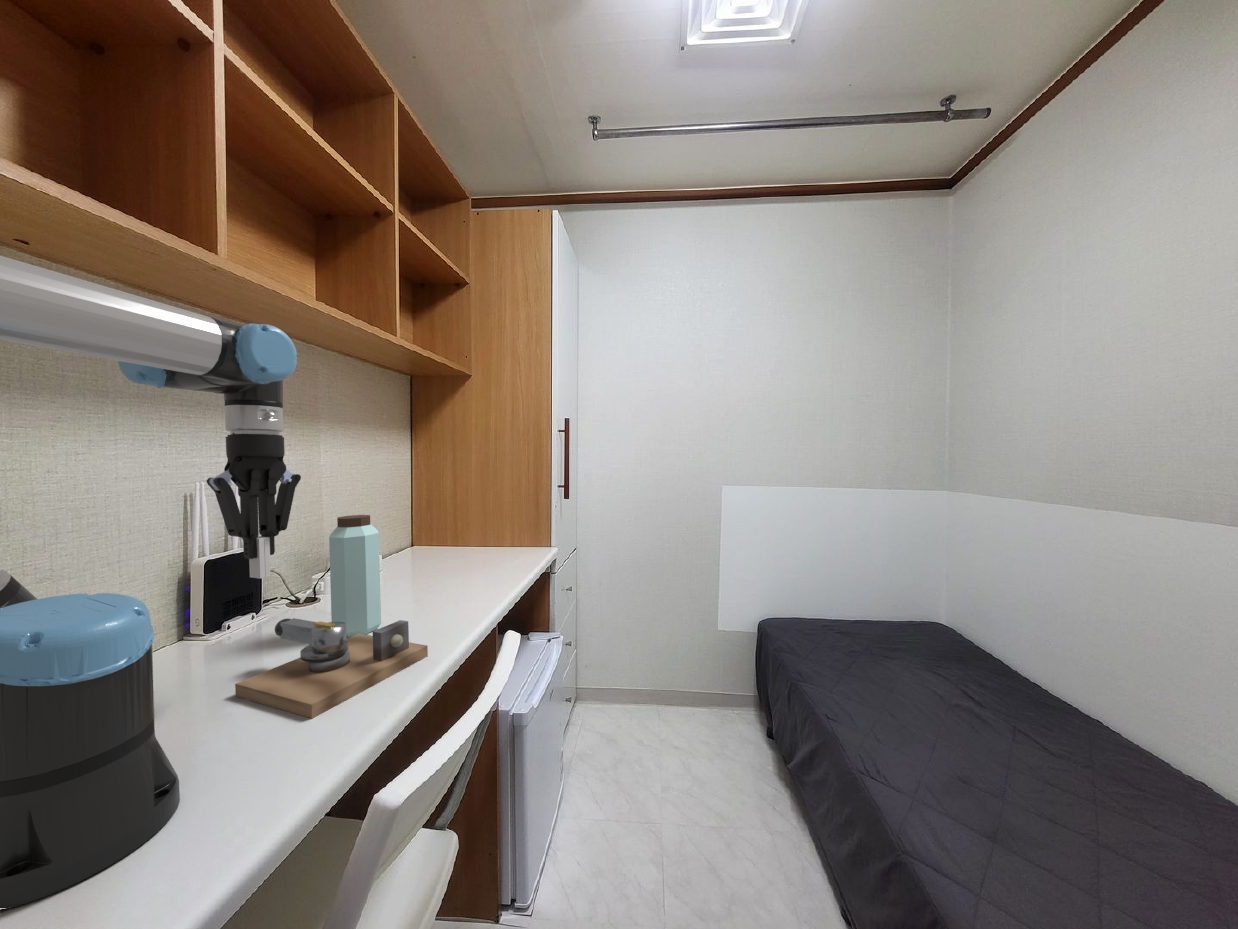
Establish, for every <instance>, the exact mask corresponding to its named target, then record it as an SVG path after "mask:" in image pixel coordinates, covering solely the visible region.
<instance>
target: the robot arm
mask: <svg viewBox="0 0 1238 929" xmlns="http://www.w3.org/2000/svg"><path fill="white" fill-rule="evenodd" d="M0 341H4V342H5V341H6V342H8V343H9V342H10V343H17V344H21V345H27V346H33V347H38V348H44V349H49V350H55V351H60V352H61V351H62V352H67V353H72V354H78V355H83V356H90V357H95V358H100V359H107V360H112V361H117V364H118V367H119V368H118V369H119V370H120V371H121V373H122V375H123V376H124V377H125V378H126V379H127V380H129V381H130V382H132V383H135V384H138V385H144V386H145V385H146V386H150V387H155V388H158V389H162V388H166V389H177V390H186V391H194V392H195V391H197V392H205V393H206V392H207V393H215V394H221V395H223V400H224V401H223V402H224V424H225V425H224V426H225V431H226V432H229V434H228V435H227V436H225V453H226V458H227V462H226V464H225V466H224V469H223V470H224V471H223V472H221V473H220V474H218V475H216V476H215V477H209V478H207V479H206V484H207V485H208V487H210V489H211V490H212V491H213V492H214V495H215V497H216V501H217V502H218V507H219V509H220V512H221V516H222V520H223V523H224V526H225V528H226V531H227V534H228V536H230V537H237V538H240V539H242V541H243V542H242V546H243V548H242V550H243V558H244V559H245V560H246V559H247V560H249V561H248V563H249V578H251V579H252V578H254V579H258V580H259V579H265V578H269V577H272V576H271V574H272V573H271V556H273V555H275V552H276V548H275V546H276V545H275V537H277V536H279V534H280V532H282V531H286V530H287V528H288V526H289V525H288V524H289V519H290V514H291V510H292V506H293V500H294V496H295V492H296V487H297V486H298V484H299V482H300V481H301V479H302V476H301V475H300V474H299V473H296V474H295V473H293V472H291V471H289V470H287V465H286V463H285V462H284V457H285V437H283V435H281V434H280V433H282V432H284V407H283V406H284V403H283V401H284V400H283V399H284V396H283V393H284V390H283V387H284V386H283V385H284V384H283V381H284V380H285V379H287V378H289V377H290V376H292V375H293V373H294V372H295V370H296V367H297V364H298V358H297V357H298V352H297V348H296V346H295V344H294V342H293V341H292V339H291V338H290V337H289V336H288V334H287V333H286V332H284V331H283V330H282V329H280V328H278V327H276V326H274V325H271V324H267V323H266V324H265V323H259V324H258V323H256V322H255V323H254V322H253V323H246V324H243V325H242V324H237V323H234V322H230V321H226V320H224V319H219V318H216V317H212V316H208V315H205V314H200V313H198V312H194V311H191V310H187V309H183V308H180V307H177V306H173V305H171V304H170V305H169V304H167V303H163V302H159V301H157V300H152V299H149V298H146V297H144V296H143V297H142V296H139V295H136V294H132V293H129V292H125V291H122V290H119V289H116V288H112V287H108V286H105V285H102V284H100V283H95V282H92V281H89V280H85V279H81V278H79V277H75V276H71V275H68V274H65V273H61V272H58V271H55V270H50V269H47V268H44V267H40V266H37V265H33V264H30V263H27V262H24V261H21V260H17V259H14V258H10V257H7V256H3V255H0ZM232 482H233V483H234V484H235V486H236V487H237V495H238V497H239V503H240V504H239V505H240V506H239V505H238V502H237V499H236V495H235V493H234V490H233V488H232V485H233V483H232ZM279 482H280V484H279V486H278V489H277V485H278V483H279ZM277 490H278V491H277ZM276 495H277V496H276ZM150 616H151V615H150V610H149V608H148V606H147V605H146V604H145V603H144V602H143V601H142V600H140V599H138V598H136V597H134V596H131V595H125V594H120V593H113V592H112V593H111V592H110V593H109V592H99V593H96V594H89V593H73V594H64V595H63V594H62V595H55V596H49V597H47V596H46V597H42V598H37V597H36V596H35V595H34V594H32V593H31V592H30V591H29V590H28V589H27V588H26V587H25V586H24V585H22V584H21V583H20V582H19V581H18V580H17V579H16V578H15V577H14V576H12V575H11V574H10V573H9V572H8V571H7V570H3V569H0V908H8V909H12V908H15V907H19V906H22V905H25V904H27V903H31V902H34V901H36V900H40V899H42V898H44V897H47V896H49V895H51V894H55V893H57V892H60V891H62V890H63V889H66V888H68V887H71V886H72V885H75V884H77V883H80V882H81V881H83V880H86V879H87V878H89V877H91V876H93V875H96V873H98V872H101V871H103V870H104V869H106V868H108V867H110V866H111V865H113V864H115V863H116V862H118V861H119V860H121V859H123V858H124V857H126V856H127V855H129V854H130V853H132V852H133V851H135V850H136V849H138V848H139V847H141V846H142V845H144V844H145V843H146V842H147V841H149V840H150V839H151V838H153V836H155V835H156V834H157V833H158V832H160V830H161V829H162V828H164V826H165V825H166V824H167V823H168V822H169V821H170V819H171V818H172V817H173V816H174V814H175V813H176V811H177V809H178V807H179V805H180V803H181V802H180V800H181V798H180V797H181V795H180V779H179V776H178V774H177V772H176V770H175V768H174V766H173V765H172V763H171V762H170V760H169V758H168V756H167V755H166V753H165V751H164V749H163V748H162V746H161V744H160V742H159V741H158V739H157V737H156V731H155V730H156V729H155V702H154V701H155V699H154V698H155V697H154V696H155V694H154V665H153V664H154V662H153V657H154V656H153V643H154V635H155V633H154V627H153V625H152V621H151V617H150ZM9 907H10V908H9Z"/></svg>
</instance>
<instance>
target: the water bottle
mask: <svg viewBox="0 0 1238 929" xmlns="http://www.w3.org/2000/svg"><path fill="white" fill-rule="evenodd" d="M336 521H337V524H336V525H337V527H335V529H333V530H332V532H331V533H330V534H329V537H328V543H329V544H328V545H329V547H328V548H329V574H330V575H329V577H330V578H329V579H330V581H329V582H330V611H331V612H330V613H331V616H330V617H331V618H330V619H331V622H345V623H346V639H347V638H349V637H352V636H354V635H357V634H365V635H369V634H370V633H373V631H375V630H378V629H379V627H380V626H381V624H382V608H381V607H382V606H381V605H382V604H381V601H382V600H381V574H380V573H381V572H380V570H381V569H380V568H381V566H380V536H379V535H380V534H379V530H378V529H377V528H376V527H375V526H373V525H372V523H371V514H355V515H353V514H352V515H343V516H337V520H336Z"/></svg>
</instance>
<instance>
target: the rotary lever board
mask: <svg viewBox="0 0 1238 929" xmlns="http://www.w3.org/2000/svg"><path fill="white" fill-rule="evenodd" d="M409 633H410V632H409V621H408V620H401V619H399V620H397V621H395V622H393V623H390V624H388V625H385V626H382V627H381V628H378V629H376V630H374V631H372V635H370V634H366V635H365V634H357V635H354V636H352V637H349V638H347V637H346V640H347V641H348V650H347V651H346V653H345V654H344V655H342V656H340V657H337V658H334V659H330V660H324V661H316V662H306V661H303V660H301V658H300V657H298V658H296V659H293V660H291V661H290V660H289V661H287V662H286V663H283V664H280V665H279V666H275V667H274V668H271V669H268V670H266V671H263V672H260V673H258V674H256V675H254V676H251V677H249V678H246V679H244V680H241V681H239V682H236V683H234V688H235V689H234V691H235V693H234V694H235V697H237V698H240V699H244V700H247V701H251V702H254V703H258V704H260V705H261V704H262V705H265V706H269V707H272V708H275V709H279V710H282V711H285V712H289V713H292V714H296V715H300V716H302V717H305V718H310V719H314V718H316V717H317V716H319V715H321V714H323V713H325V712H326V711H329V710H331V709H332V708H334V707H336V706H337V705H339V704H341V703H343V702H345V701H347V700H349V699H351V698H352V697H355V696H357V695H359V694H360V693H362V692H364V691H366V690H369V688H372V687H373V686H375V685H376V684H379V683H380V682H382V681H384V680H386V679H388V678H391V677H392V676H393V675H395V674H398V673H399V672H400V671H403V670H404V669H407V668H408V667H410V666H412V665H414V664H416V663H418V662H420V661H421V660H423V659H425V658H427V657H428V651H429V650H428V645H427V644H426V645H425V644H421V643H414V642H410V641H409V640H410V636H409V635H410V634H409Z"/></svg>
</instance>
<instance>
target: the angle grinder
mask: <svg viewBox="0 0 1238 929" xmlns="http://www.w3.org/2000/svg"><path fill="white" fill-rule="evenodd" d="M274 633H275V635H277V636H278V637H279V638H280V639H282V640H288V641H293V642H296V643H297V642H298V643H302V644H308V645H306V646H305V647H303V648H302V649H301V650H300V653H299V656H300V657H299V658H301V660H303V661H306V662H316V661H324V660H330V659H334V658H337V657H340V656H342V655H344V654H345V653H346V651H347V650H348V641H347V640H346V639H347V637H346V623H345V622H332V621H329V622H325V621H317V622H316V621H311V620H306V619H301V618H300V619H299V618H283V619H281V620H279V621H278V622H277V623H276V624H275V626H274Z"/></svg>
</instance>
